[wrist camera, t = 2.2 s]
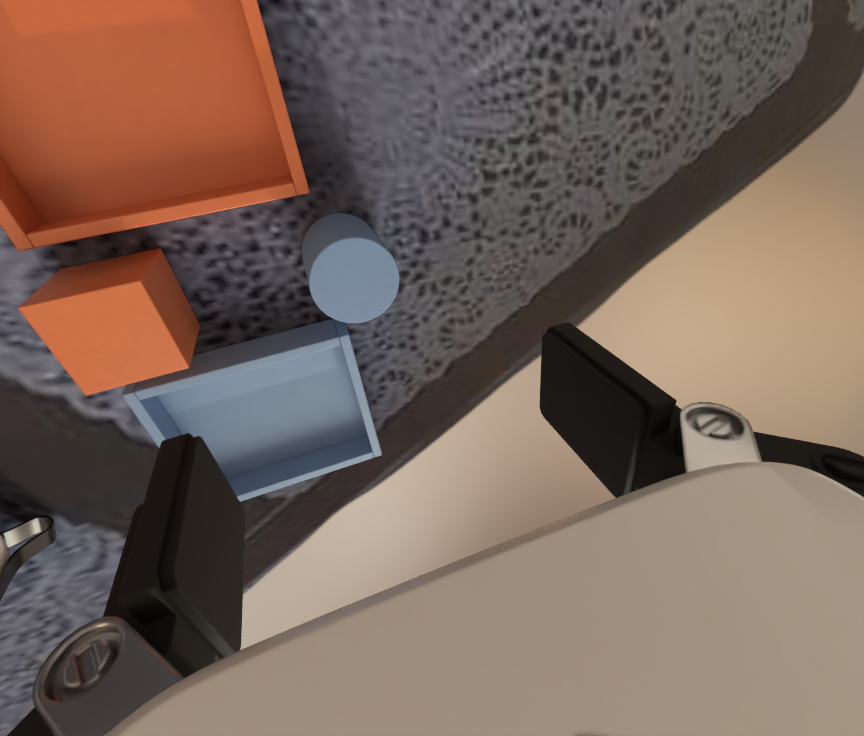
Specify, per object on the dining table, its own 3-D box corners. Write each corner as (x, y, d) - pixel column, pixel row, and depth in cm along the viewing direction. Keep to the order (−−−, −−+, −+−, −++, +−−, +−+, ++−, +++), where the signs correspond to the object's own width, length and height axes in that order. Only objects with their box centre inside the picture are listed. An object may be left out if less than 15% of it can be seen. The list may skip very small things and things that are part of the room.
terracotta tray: (227, -102, 16) (222, -129, 14) (305, 183, 22) (310, 193, 20) (-164, -77, 14) (-235, -104, 12) (43, 235, 20) (18, 251, 18)
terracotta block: (161, 247, 21) (140, 280, 18) (200, 325, 24) (189, 368, 20) (60, 268, 21) (16, 307, 17) (112, 347, 23) (85, 396, 20)
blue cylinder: (370, 205, 24) (391, 227, 20) (385, 278, 26) (406, 311, 22) (291, 221, 23) (296, 249, 19) (314, 296, 25) (323, 333, 21)
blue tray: (342, 315, 26) (348, 334, 24) (374, 432, 32) (382, 455, 30) (132, 370, 24) (120, 395, 22) (208, 485, 30) (204, 513, 28)
